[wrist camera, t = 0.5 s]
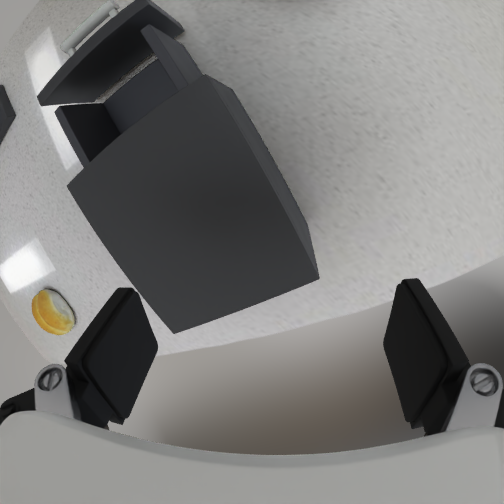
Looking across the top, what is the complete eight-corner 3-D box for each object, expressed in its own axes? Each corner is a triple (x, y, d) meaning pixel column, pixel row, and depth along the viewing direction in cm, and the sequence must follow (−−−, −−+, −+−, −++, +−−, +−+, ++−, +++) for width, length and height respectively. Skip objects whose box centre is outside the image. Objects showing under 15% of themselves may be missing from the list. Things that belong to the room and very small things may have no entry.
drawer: (74, 67, 20) (23, 64, 13) (160, -4, 17) (122, -33, 10) (150, 199, 26) (110, 230, 19) (252, 138, 23) (240, 147, 16)
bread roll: (33, 298, 37) (20, 311, 34) (51, 280, 35) (36, 295, 31) (61, 333, 40) (50, 347, 37) (83, 321, 37) (71, 337, 34)
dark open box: (126, 160, 26) (66, 185, 17) (232, 89, 22) (205, 73, 13) (200, 274, 31) (173, 334, 22) (307, 225, 27) (320, 279, 19)
